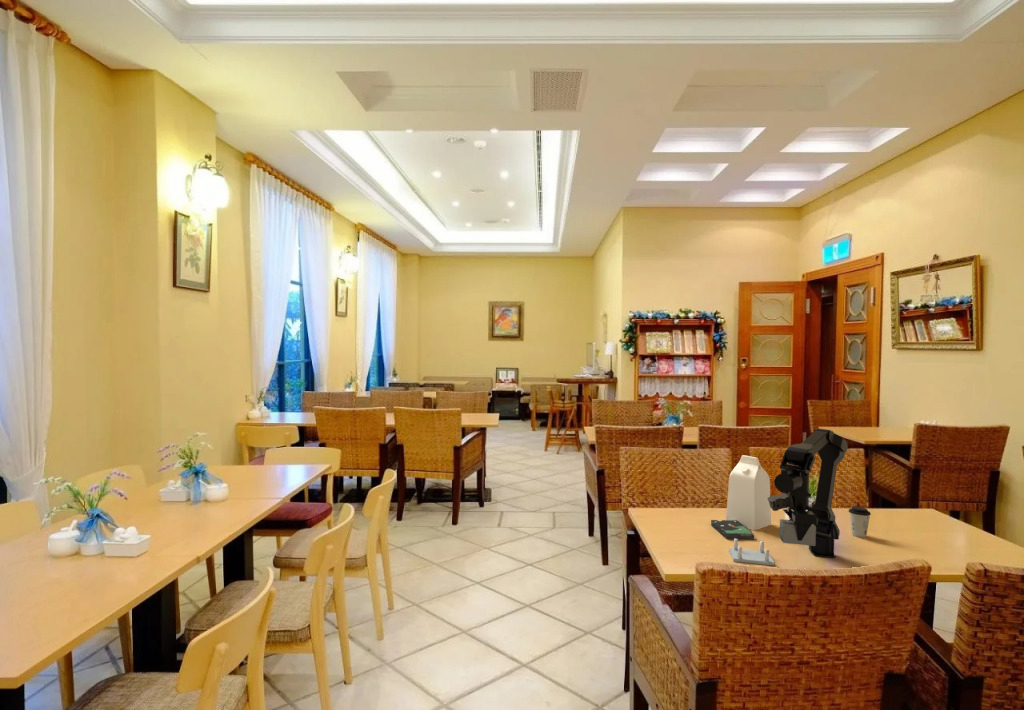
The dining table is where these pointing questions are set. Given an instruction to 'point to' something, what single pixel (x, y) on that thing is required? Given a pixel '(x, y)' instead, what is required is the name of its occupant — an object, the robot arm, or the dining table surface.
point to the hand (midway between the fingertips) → (797, 537)
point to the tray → (751, 555)
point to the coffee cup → (859, 521)
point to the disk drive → (732, 529)
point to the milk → (749, 494)
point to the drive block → (790, 534)
